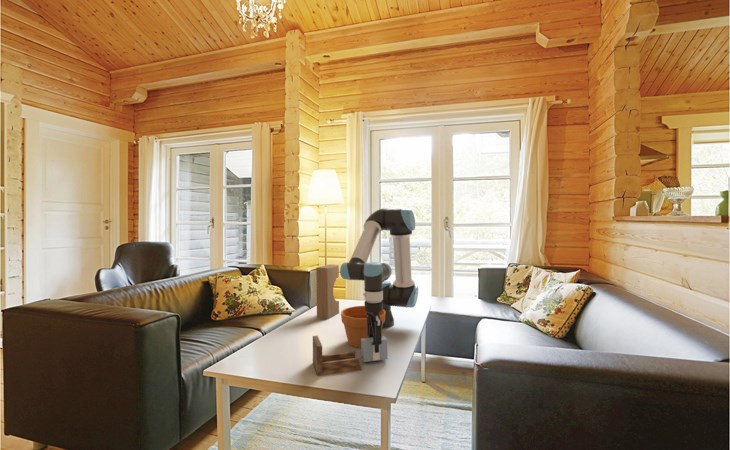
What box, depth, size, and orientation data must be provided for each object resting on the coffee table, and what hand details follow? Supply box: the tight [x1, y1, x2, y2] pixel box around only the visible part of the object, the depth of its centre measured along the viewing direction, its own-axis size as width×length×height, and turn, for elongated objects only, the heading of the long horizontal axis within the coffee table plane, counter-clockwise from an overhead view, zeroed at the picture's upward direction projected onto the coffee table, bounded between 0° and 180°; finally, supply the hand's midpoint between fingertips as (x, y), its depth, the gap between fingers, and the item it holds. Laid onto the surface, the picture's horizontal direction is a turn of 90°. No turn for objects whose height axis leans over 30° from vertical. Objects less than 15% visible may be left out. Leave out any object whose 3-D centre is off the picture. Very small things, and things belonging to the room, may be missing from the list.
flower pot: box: [340, 305, 386, 349], centre depth 160 cm, size 21×21×15 cm
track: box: [312, 335, 362, 377], centre depth 134 cm, size 17×12×11 cm
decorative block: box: [315, 264, 340, 320], centre depth 206 cm, size 15×8×30 cm, turn 157°
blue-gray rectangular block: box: [360, 335, 389, 363], centre depth 139 cm, size 10×4×8 cm, turn 106°
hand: (374, 357), depth 139 cm, fingers closed on blue-gray rectangular block, 4 cm apart
